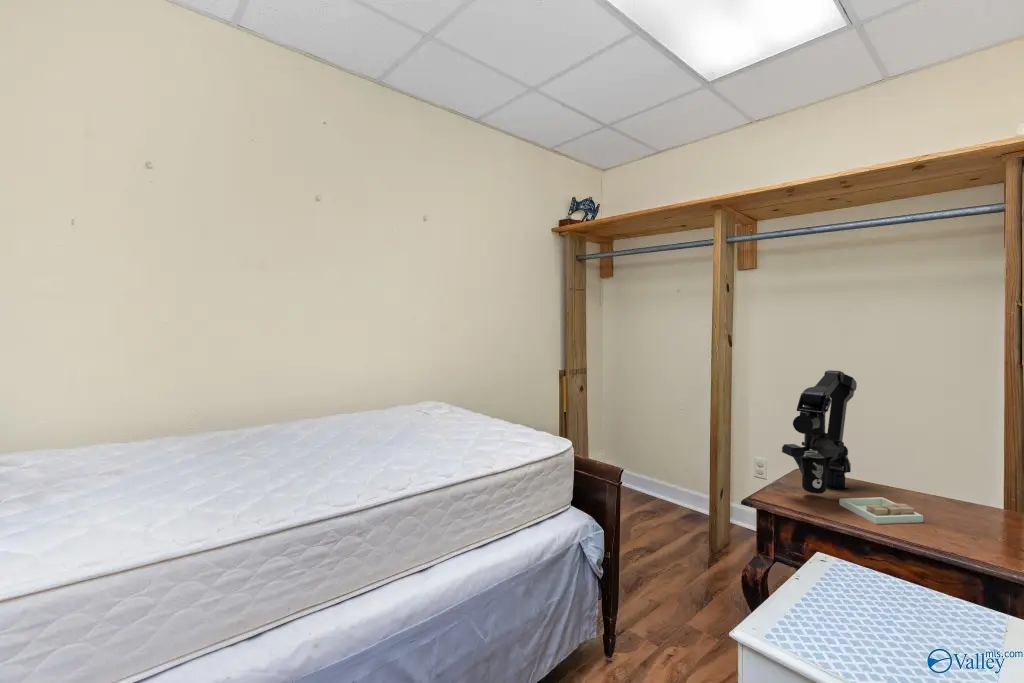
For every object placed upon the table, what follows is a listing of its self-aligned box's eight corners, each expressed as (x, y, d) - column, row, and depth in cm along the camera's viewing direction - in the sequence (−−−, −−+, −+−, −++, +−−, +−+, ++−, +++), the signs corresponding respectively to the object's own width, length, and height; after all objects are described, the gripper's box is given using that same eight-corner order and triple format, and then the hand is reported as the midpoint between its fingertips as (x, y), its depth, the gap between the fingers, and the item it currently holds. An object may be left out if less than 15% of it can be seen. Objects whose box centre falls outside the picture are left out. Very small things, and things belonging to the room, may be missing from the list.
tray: (839, 506, 147) (839, 498, 147) (882, 504, 148) (882, 497, 147) (875, 525, 133) (875, 517, 133) (922, 524, 134) (922, 515, 133)
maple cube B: (879, 516, 138) (879, 504, 138) (888, 515, 139) (888, 503, 138) (891, 521, 134) (891, 509, 134) (900, 520, 135) (900, 508, 135)
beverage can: (805, 493, 151) (805, 456, 150) (799, 486, 157) (799, 451, 156) (829, 495, 149) (829, 458, 148) (821, 488, 155) (822, 452, 154)
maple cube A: (866, 516, 138) (866, 504, 138) (877, 516, 138) (877, 504, 138) (875, 521, 134) (876, 509, 134) (887, 521, 135) (887, 509, 134)
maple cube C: (892, 515, 139) (892, 503, 138) (904, 515, 138) (905, 503, 138) (900, 520, 135) (901, 508, 135) (913, 520, 135) (914, 508, 135)
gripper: (803, 435, 143) (803, 485, 144) (861, 433, 144) (861, 483, 145) (781, 427, 154) (780, 473, 155) (835, 425, 155) (835, 471, 156)
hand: (814, 475), depth 152 cm, fingers closed on beverage can, 7 cm apart
